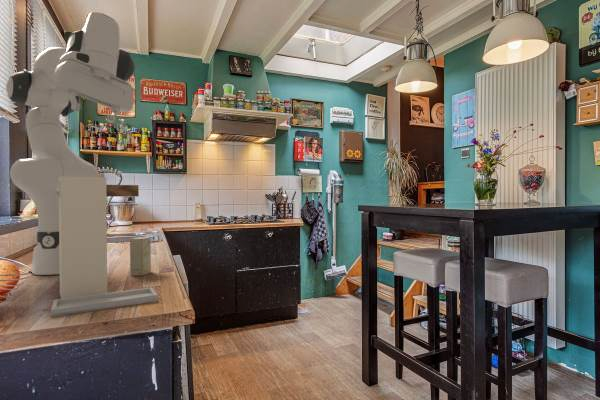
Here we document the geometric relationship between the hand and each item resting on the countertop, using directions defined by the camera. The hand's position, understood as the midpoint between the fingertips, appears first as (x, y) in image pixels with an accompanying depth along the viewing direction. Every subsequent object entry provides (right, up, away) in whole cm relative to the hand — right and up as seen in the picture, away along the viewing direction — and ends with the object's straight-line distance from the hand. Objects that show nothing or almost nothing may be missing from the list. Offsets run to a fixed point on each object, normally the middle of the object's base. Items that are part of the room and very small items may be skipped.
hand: (93, 116), depth 96 cm
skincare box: (+3, -48, +22) cm, 53 cm away
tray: (+10, -48, -12) cm, 51 cm away
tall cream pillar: (-1, -48, -3) cm, 48 cm away
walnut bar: (+3, -22, 0) cm, 22 cm away
